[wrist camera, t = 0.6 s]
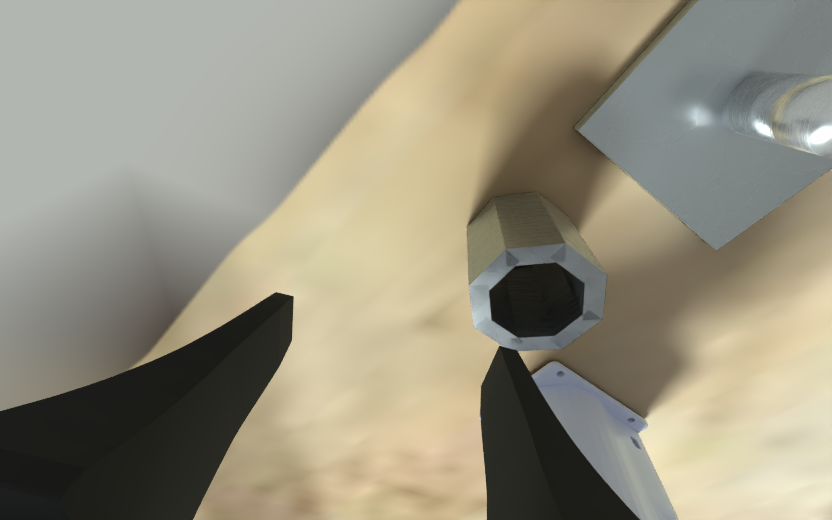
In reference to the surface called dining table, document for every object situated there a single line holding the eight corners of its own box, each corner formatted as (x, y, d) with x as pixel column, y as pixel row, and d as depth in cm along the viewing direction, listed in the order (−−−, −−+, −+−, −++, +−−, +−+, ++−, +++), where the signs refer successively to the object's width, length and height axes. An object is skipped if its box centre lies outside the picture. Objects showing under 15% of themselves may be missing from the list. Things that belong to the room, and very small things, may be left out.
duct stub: (941, 71, 14) (1160, 77, 10) (707, 243, 19) (783, 301, 14) (797, -118, 12) (992, -219, 8) (573, 127, 17) (614, 153, 12)
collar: (588, 232, 19) (634, 295, 14) (518, 294, 22) (536, 367, 17) (513, 173, 18) (534, 219, 13) (449, 246, 21) (445, 309, 16)
